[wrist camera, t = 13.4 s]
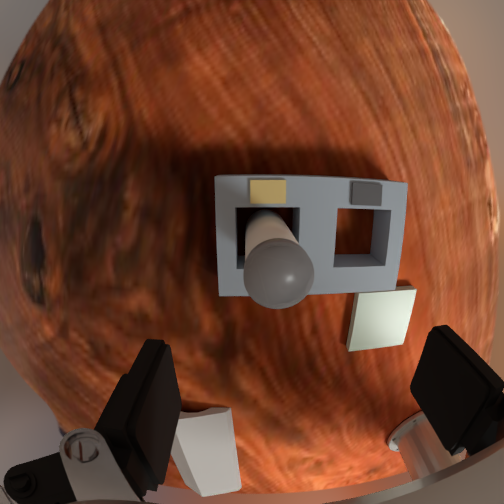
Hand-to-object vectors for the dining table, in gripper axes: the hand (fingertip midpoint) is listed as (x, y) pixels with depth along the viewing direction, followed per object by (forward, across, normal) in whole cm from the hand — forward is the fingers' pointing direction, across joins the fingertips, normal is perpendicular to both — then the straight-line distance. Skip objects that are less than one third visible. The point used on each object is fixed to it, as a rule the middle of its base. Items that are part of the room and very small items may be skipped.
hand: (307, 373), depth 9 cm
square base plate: (+22, -14, +11) cm, 28 cm away
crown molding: (+22, +10, +40) cm, 47 cm away
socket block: (+21, -4, 0) cm, 22 cm away
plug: (+21, 0, 0) cm, 21 cm away
